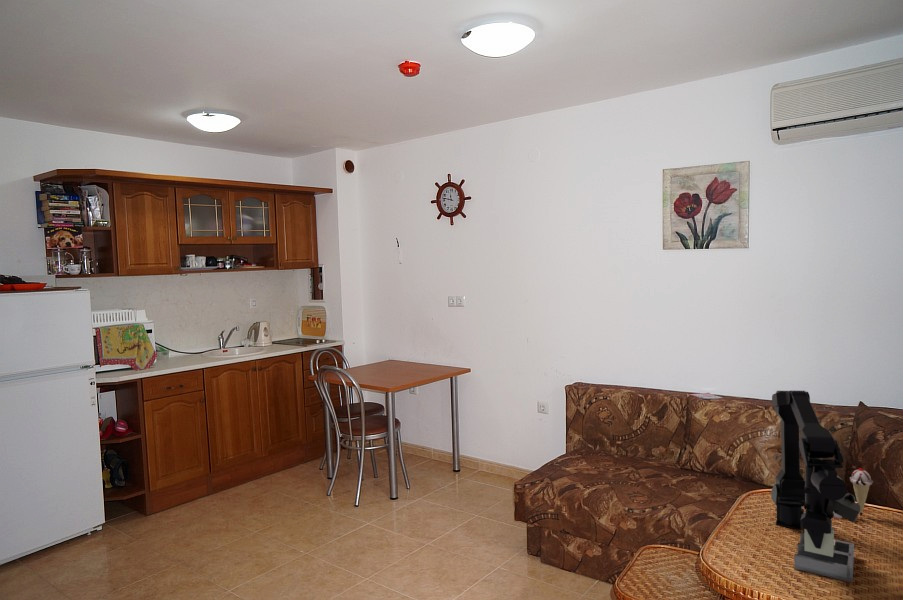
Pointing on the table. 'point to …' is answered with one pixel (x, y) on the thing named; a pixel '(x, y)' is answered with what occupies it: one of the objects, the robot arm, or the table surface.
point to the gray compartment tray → (827, 561)
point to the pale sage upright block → (826, 546)
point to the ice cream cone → (861, 486)
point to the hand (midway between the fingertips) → (818, 544)
